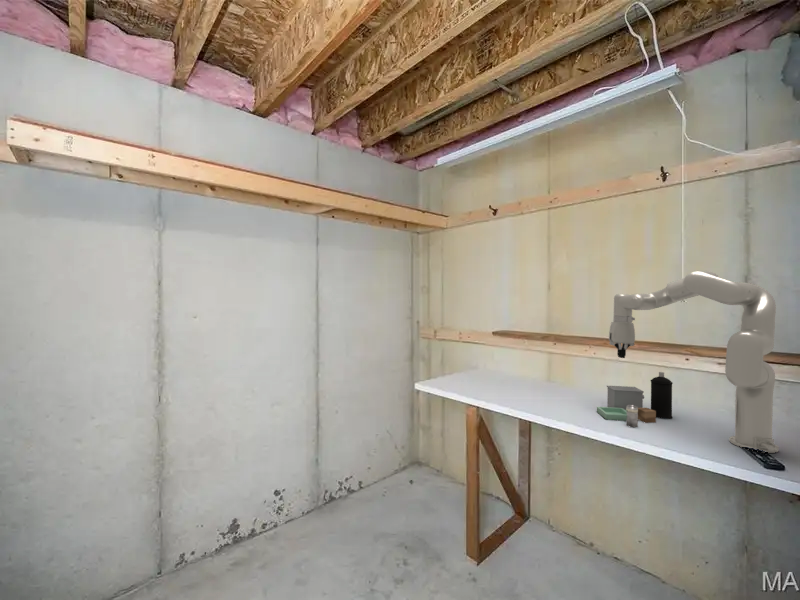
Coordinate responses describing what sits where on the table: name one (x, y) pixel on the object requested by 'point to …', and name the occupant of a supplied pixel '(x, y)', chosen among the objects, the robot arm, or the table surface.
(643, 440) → the table surface
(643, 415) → the walnut block
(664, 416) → the aerosol can
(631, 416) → the fuse
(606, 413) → the tray
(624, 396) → the box
